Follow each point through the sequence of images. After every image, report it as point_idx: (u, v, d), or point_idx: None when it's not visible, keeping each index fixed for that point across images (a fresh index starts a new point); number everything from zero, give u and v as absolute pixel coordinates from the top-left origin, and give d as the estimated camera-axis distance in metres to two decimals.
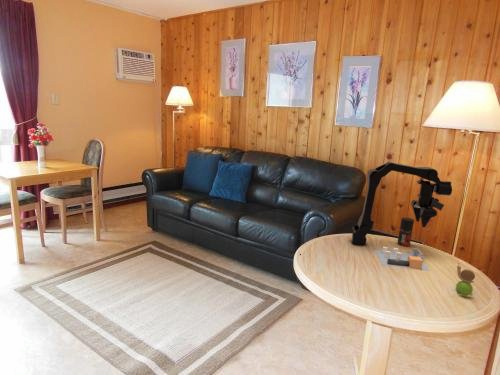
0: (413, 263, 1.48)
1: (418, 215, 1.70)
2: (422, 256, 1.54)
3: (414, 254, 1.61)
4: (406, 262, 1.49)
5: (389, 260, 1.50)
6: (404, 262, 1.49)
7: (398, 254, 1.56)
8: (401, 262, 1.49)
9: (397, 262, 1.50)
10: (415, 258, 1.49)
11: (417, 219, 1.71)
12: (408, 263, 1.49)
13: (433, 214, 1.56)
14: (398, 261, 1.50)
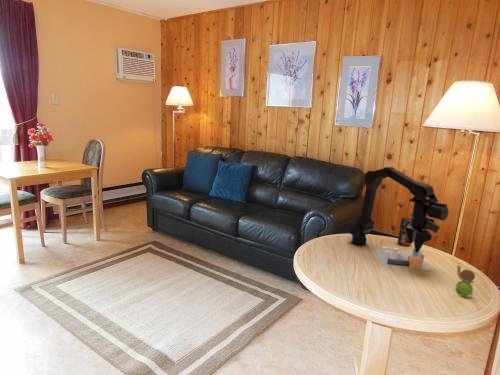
0: (413, 263, 1.48)
1: (411, 237, 1.52)
2: (422, 256, 1.54)
3: (414, 254, 1.61)
4: (406, 262, 1.49)
5: (389, 260, 1.50)
6: (404, 262, 1.49)
7: (398, 254, 1.56)
8: (401, 262, 1.49)
9: (397, 262, 1.50)
10: (415, 258, 1.49)
11: (410, 241, 1.52)
12: (408, 263, 1.49)
13: (427, 238, 1.37)
14: (398, 261, 1.50)
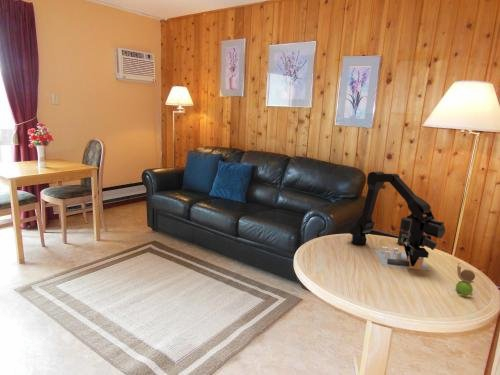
0: None
1: None
2: None
3: None
4: (406, 262, 1.49)
5: (389, 260, 1.50)
6: (404, 262, 1.49)
7: (398, 254, 1.56)
8: (401, 262, 1.49)
9: (397, 262, 1.50)
10: None
11: None
12: (408, 263, 1.49)
13: (424, 256, 1.39)
14: (398, 261, 1.50)
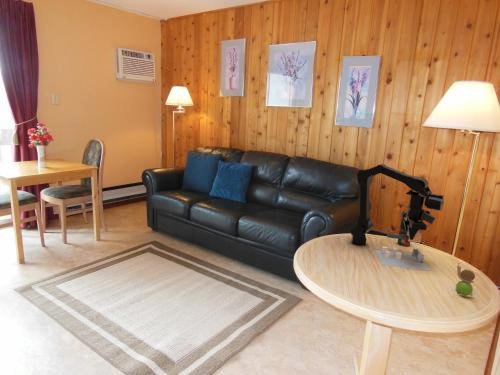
0: None
1: None
2: (422, 256, 1.54)
3: (414, 254, 1.61)
4: (405, 236, 1.56)
5: (389, 234, 1.57)
6: (403, 236, 1.56)
7: (398, 254, 1.56)
8: (401, 236, 1.56)
9: (397, 236, 1.56)
10: None
11: None
12: (407, 237, 1.55)
13: (422, 228, 1.45)
14: (398, 235, 1.56)
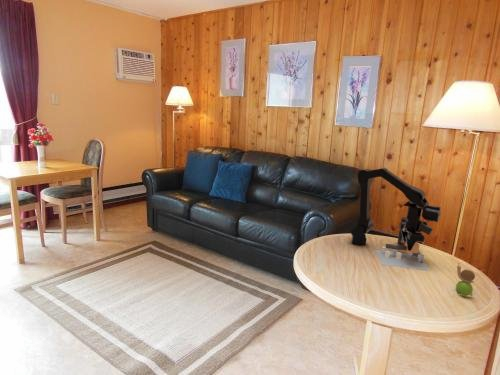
0: None
1: None
2: (422, 256, 1.54)
3: (414, 254, 1.61)
4: (403, 247, 1.57)
5: (387, 245, 1.58)
6: (401, 247, 1.58)
7: (398, 254, 1.56)
8: (399, 247, 1.58)
9: (395, 247, 1.58)
10: None
11: None
12: (405, 248, 1.57)
13: (420, 240, 1.47)
14: (396, 246, 1.58)
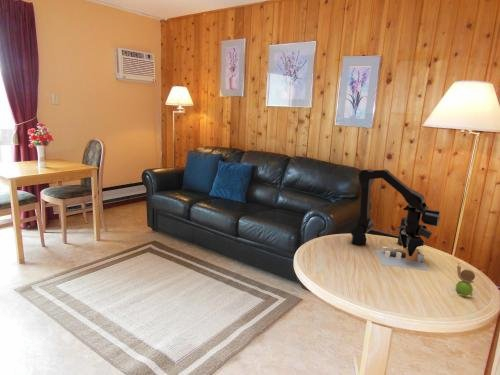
0: (408, 254, 1.57)
1: (405, 242, 1.62)
2: (422, 256, 1.54)
3: None
4: (402, 254, 1.58)
5: None
6: None
7: (398, 254, 1.56)
8: None
9: (394, 254, 1.59)
10: None
11: (404, 246, 1.62)
12: (404, 255, 1.58)
13: (420, 244, 1.48)
14: (395, 253, 1.59)
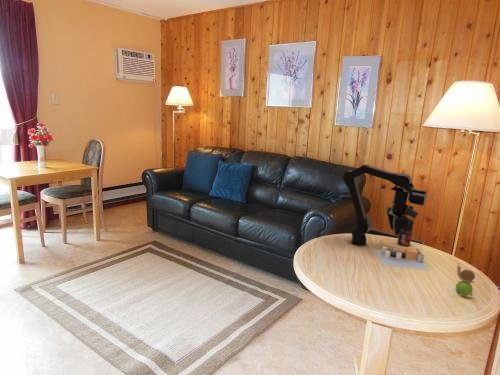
0: (408, 254, 1.57)
1: (392, 222, 1.66)
2: (422, 256, 1.54)
3: None
4: (402, 254, 1.58)
5: None
6: None
7: (398, 254, 1.56)
8: None
9: (394, 254, 1.59)
10: (411, 250, 1.58)
11: (391, 226, 1.66)
12: (404, 255, 1.58)
13: (405, 222, 1.51)
14: (395, 253, 1.59)
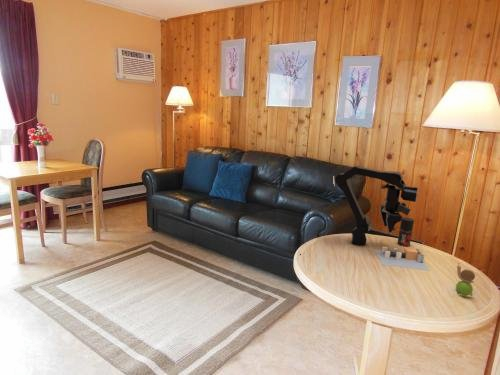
0: (408, 254, 1.57)
1: (386, 220, 1.68)
2: (422, 256, 1.54)
3: None
4: (402, 254, 1.58)
5: None
6: None
7: (398, 254, 1.56)
8: None
9: (394, 254, 1.59)
10: (411, 250, 1.58)
11: (385, 224, 1.69)
12: (404, 255, 1.58)
13: (398, 219, 1.54)
14: (395, 253, 1.59)
